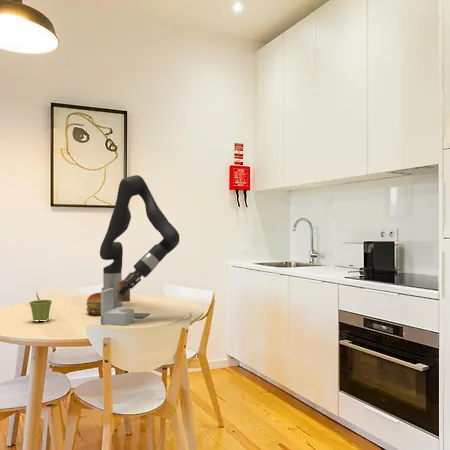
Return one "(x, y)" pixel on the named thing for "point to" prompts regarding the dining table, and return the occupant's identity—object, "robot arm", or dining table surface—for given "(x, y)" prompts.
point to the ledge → (114, 310)
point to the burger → (94, 304)
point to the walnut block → (127, 295)
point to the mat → (141, 315)
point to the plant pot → (40, 309)
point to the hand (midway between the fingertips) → (119, 292)
